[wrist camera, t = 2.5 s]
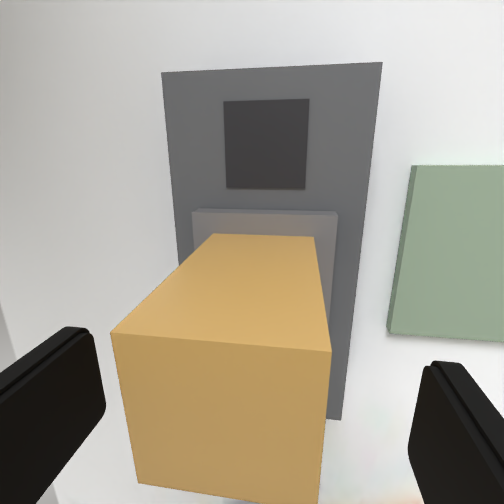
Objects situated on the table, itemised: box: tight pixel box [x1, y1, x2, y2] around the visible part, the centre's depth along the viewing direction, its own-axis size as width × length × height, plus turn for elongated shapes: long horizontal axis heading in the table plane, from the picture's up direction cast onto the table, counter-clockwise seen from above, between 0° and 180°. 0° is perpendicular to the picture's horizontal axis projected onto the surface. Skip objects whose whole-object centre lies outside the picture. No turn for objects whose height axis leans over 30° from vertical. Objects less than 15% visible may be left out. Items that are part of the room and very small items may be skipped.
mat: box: [386, 165, 504, 342], centre depth 17 cm, size 10×10×1 cm
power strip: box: [161, 62, 383, 420], centre depth 17 cm, size 18×9×5 cm, turn 0°
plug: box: [110, 208, 338, 504], centre depth 13 cm, size 6×6×13 cm
